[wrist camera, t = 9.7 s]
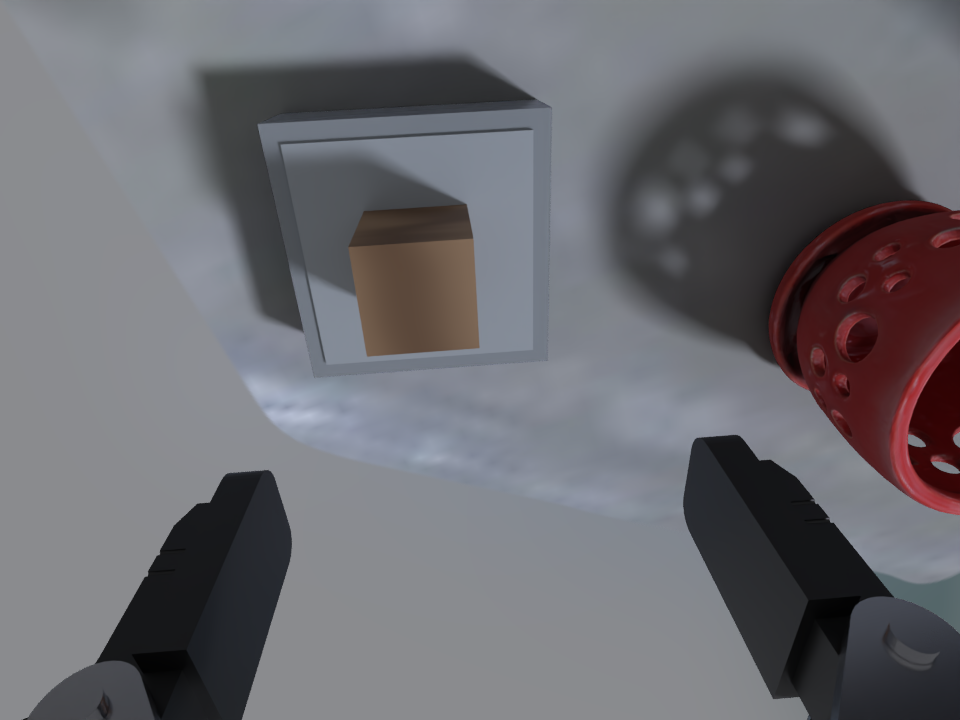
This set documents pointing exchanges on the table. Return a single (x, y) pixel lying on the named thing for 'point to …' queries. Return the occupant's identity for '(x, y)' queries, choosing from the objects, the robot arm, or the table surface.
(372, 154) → the pedestal
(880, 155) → the table surface
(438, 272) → the walnut cube
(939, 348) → the plant pot
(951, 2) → the table surface
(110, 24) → the table surface
